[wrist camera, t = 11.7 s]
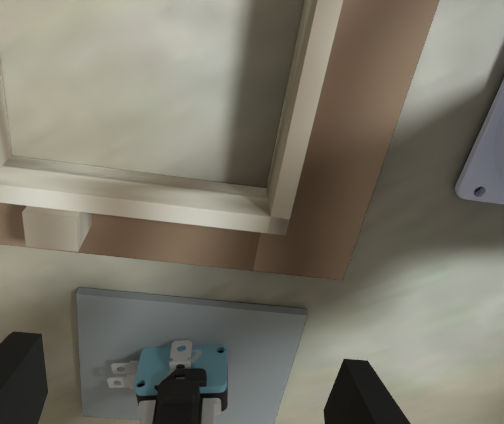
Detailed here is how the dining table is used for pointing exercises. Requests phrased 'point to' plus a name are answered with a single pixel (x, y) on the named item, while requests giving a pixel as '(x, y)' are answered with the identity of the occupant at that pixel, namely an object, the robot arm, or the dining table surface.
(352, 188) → the brown flat rectangular frame
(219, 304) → the rubber mat
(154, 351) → the push button
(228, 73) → the dining table surface
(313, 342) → the dining table surface
